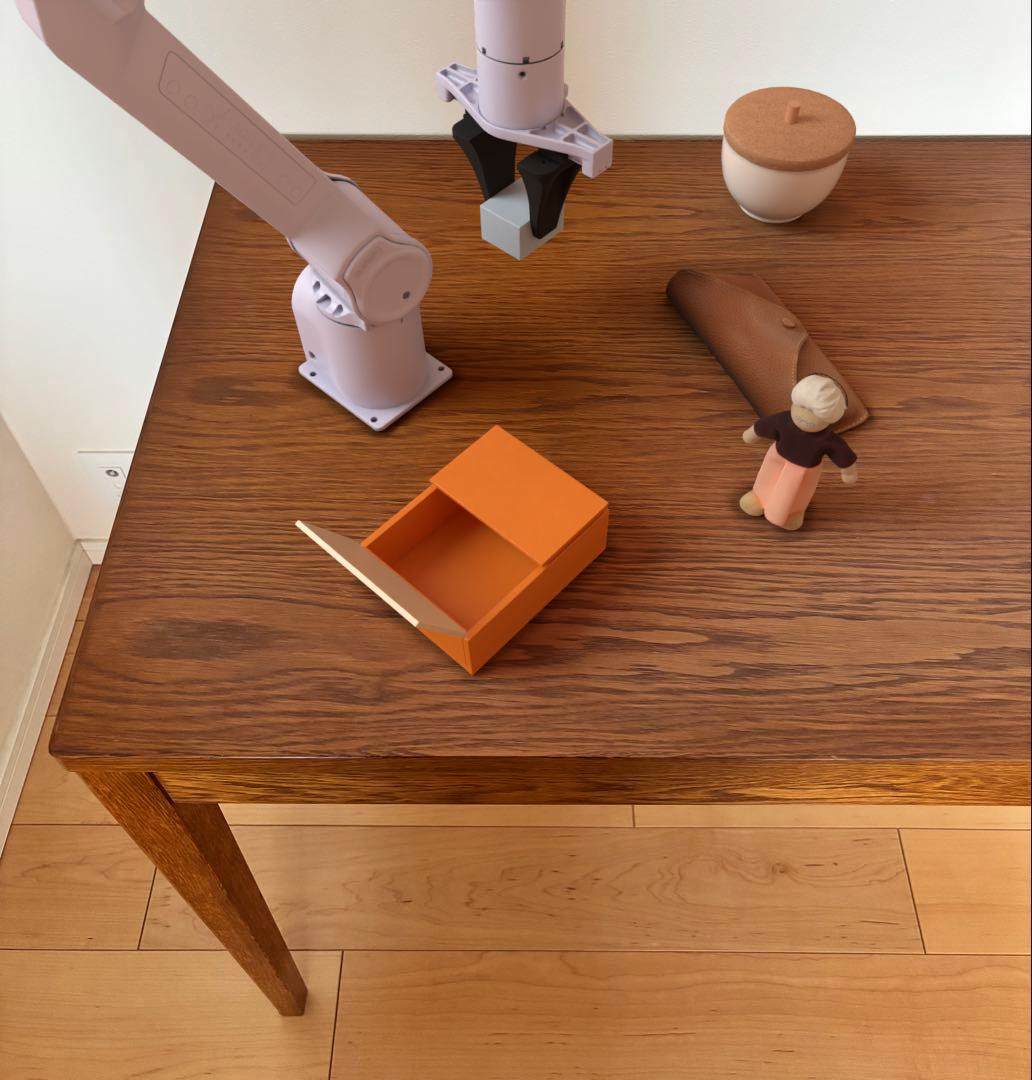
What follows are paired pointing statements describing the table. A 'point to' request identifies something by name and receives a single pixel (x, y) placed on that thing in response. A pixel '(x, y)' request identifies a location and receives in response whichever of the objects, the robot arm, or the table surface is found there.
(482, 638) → the orange flip-lid box
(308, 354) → the robot arm
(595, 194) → the table surface
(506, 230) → the pale grey cuboid
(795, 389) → the grandmother figurine
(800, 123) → the trinket box
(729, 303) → the sunglasses case
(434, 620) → the flap
